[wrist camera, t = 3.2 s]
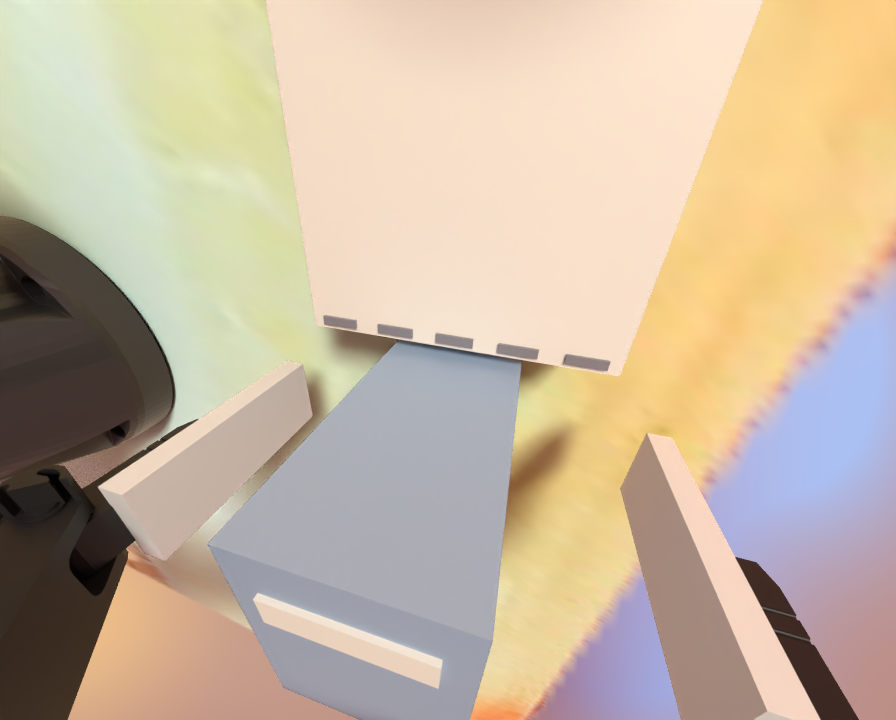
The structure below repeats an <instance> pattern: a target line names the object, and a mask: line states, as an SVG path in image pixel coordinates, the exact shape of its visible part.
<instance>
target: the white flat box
mask: <svg viewBox="0 0 896 720" xmlns="http://www.w3.org/2000/svg"><path fill="white" fill-rule="evenodd" d="M762 2H763V0H266V5H267V12H268V18H269V25H270V31H271V37H272V44H273V50H274V57H275V63H276V70H277V76H278V82H279V89H280V95H281V102H282V108H283V115H284V121H285V127H286V134H287V140H288V147H289V153H290V160H291V166H292V172H293V179H294V185H295V192H296V198H297V205H298V211H299V217H300V224H301V230H302V237H303V243H304V250H305V256H306V262H307V269H308V275H309V282H310V288H311V295H312V301H313V307H314V314H315V320H316V325H318V326H324V327H329V328H335V329H341V330H347V331H353V332H359V333H365V334H371V335H377V336H383V337H389V338H395V339H401V340H407V341H412V342H418V343H424V344H430V345H436V346H442V347H448V348H454V349H460V350H466V351H472V352H478V353H484V354H490V355H496V356H501V357H507V358H513V359H519V360H525V361H531V362H537V363H543V364H549V365H555V366H561V367H567V368H573V369H579V370H585V371H590V372H596V373H602V374H608V375H614V376H620V374H621V372H622V369H623V366H624V364H625V361H626V359H627V356H628V353H629V351H630V348H631V346H632V343H633V340H634V338H635V335H636V332H637V330H638V327H639V325H640V322H641V319H642V317H643V314H644V311H645V309H646V306H647V304H648V301H649V298H650V296H651V293H652V290H653V288H654V285H655V283H656V280H657V277H658V275H659V272H660V270H661V267H662V264H663V262H664V259H665V256H666V254H667V251H668V249H669V246H670V243H671V241H672V238H673V235H674V233H675V230H676V228H677V225H678V222H679V220H680V217H681V214H682V212H683V209H684V207H685V204H686V201H687V199H688V196H689V194H690V191H691V188H692V186H693V183H694V180H695V178H696V175H697V173H698V170H699V167H700V165H701V162H702V159H703V157H704V154H705V152H706V149H707V146H708V144H709V141H710V138H711V136H712V133H713V131H714V128H715V125H716V123H717V120H718V118H719V115H720V112H721V110H722V107H723V104H724V102H725V99H726V97H727V94H728V91H729V89H730V86H731V83H732V81H733V78H734V76H735V73H736V70H737V68H738V65H739V62H740V60H741V57H742V55H743V52H744V49H745V47H746V44H747V42H748V39H749V36H750V34H751V31H752V28H753V26H754V23H755V21H756V18H757V15H758V13H759V10H760V7H761V5H762Z"/></svg>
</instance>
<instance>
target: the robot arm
mask: <svg viewBox="0 0 896 720" xmlns="http://www.w3.org/2000/svg"><path fill="white" fill-rule="evenodd" d="M172 399H173V391H172V383H171V378H170V374H169V371H168V368H167V365H166V362H165V360H164V357H163V355H162V353H161V351H160V349H159V347H158V345H157V343H156V341H155V339H154V338H153V336H152V334H151V332H150V331H149V329H148V328H147V326H146V325H145V323H144V322H143V320H142V319H141V317H140V316H139V314H138V313H137V312H136V310H135V309H134V308H133V306H132V305H131V304H130V303H129V301H128V300H127V299H126V298H125V297H124V295H123V294H122V293H121V292H120V291H119V290H118V289H117V288H116V287H115V285H114V284H113V283H112V282H111V281H110V280H109V279H108V278H107V277H106V276H105V275H104V274H103V273H102V272H101V271H100V270H99V269H97V268H96V267H95V266H94V265H93V264H92V263H91V262H90V261H88V260H87V259H86V258H85V257H84V256H82V255H81V254H80V253H79V252H77V251H76V250H75V249H73V248H72V247H71V246H69V245H68V244H66V243H65V242H63V241H62V240H60V239H59V238H57V237H56V236H54V235H52V234H51V233H49V232H47V231H45V230H43V229H41V228H39V227H37V226H35V225H33V224H30V223H28V222H25V221H22V220H19V219H16V218H12V217H6V216H0V483H1V484H0V720H68V717H69V714H70V712H71V709H72V706H73V704H74V701H75V698H76V696H77V692H78V690H79V687H80V685H81V682H82V679H83V677H84V674H85V671H86V669H87V666H88V663H89V661H90V658H91V655H92V653H93V650H94V647H95V645H96V642H97V639H98V637H99V634H100V631H101V629H102V626H103V623H104V621H105V618H106V615H107V613H108V610H109V607H110V605H111V602H112V599H113V597H114V594H115V591H116V589H117V586H118V583H119V581H120V578H121V575H122V572H123V570H124V567H125V565H126V562H127V559H128V551H127V550H126V548H127V547H128V546H129V545H130V544H132V543H133V542H134V541H136V542H137V544H138V545H139V547H140V548H141V549H142V551H143V552H144V553H145V554H148V555H151V556H153V557H156V558H159V559H161V560H164V561H166V560H167V559H168V558H169V557H170V556H171V555H172V554H173V553H174V552H175V551H176V550H177V549H178V548H179V547H180V546H181V545H182V544H183V543H184V542H185V541H186V540H187V539H188V538H189V537H190V536H192V535H193V534H194V533H195V532H196V531H197V530H198V529H199V528H200V527H201V526H202V525H203V524H204V523H205V522H206V521H207V520H208V519H209V518H210V517H211V516H212V515H213V514H214V513H215V512H216V511H217V510H218V509H219V508H220V507H221V506H222V505H223V504H224V503H225V502H226V501H227V500H228V499H229V498H230V497H231V496H232V495H233V494H234V493H235V492H236V491H237V490H238V489H239V488H240V487H241V486H242V485H243V484H244V483H245V482H246V481H247V480H248V479H249V478H250V477H251V476H252V475H254V474H255V473H256V472H257V471H258V470H259V469H260V468H261V467H262V466H263V465H264V464H265V463H266V462H267V461H268V460H269V459H270V458H271V457H272V456H273V455H274V454H275V453H276V452H277V451H278V450H279V449H280V448H281V447H282V446H283V445H284V444H285V443H286V442H287V441H288V440H289V439H290V438H291V437H292V436H293V435H294V434H295V433H296V432H297V431H298V430H299V429H300V428H301V427H302V426H303V425H304V424H305V423H306V422H307V421H308V420H309V419H310V418H311V417H312V416H313V415H312V409H311V404H310V399H309V393H308V388H307V383H306V377H305V372H304V367H303V364H301V363H296V362H291V361H286V362H284V363H283V364H281V365H280V366H278V367H277V368H275V369H274V370H272V371H271V372H269V373H268V374H266V375H265V376H263V377H262V378H260V379H259V380H257V381H256V382H254V383H253V384H251V385H250V386H248V387H247V388H245V389H244V390H242V391H241V392H239V393H238V394H236V395H235V396H233V397H232V398H230V399H229V400H227V401H226V402H224V403H223V404H221V405H220V406H218V407H217V408H215V409H214V410H212V411H211V412H209V413H208V414H206V415H205V416H203V417H202V418H200V419H196V420H194V421H191V422H189V423H187V424H184V425H182V426H180V427H177V428H176V429H174V430H173V431H171V432H170V433H168V434H167V435H165V436H164V437H162V438H161V440H160V441H158V440H157V441H156V442H154V443H153V444H151V445H150V446H148V447H147V449H146V450H142V451H140V452H139V453H137V454H136V455H134V456H133V457H131V458H130V459H128V460H127V461H125V462H124V463H122V464H120V465H119V466H117V467H116V468H114V469H113V470H111V471H110V472H108V473H107V474H105V475H104V476H102V477H100V478H99V479H97V480H96V481H94V482H93V483H91V484H90V485H88V486H86V487H84V488H83V489H81V488H80V486H79V485H78V484H77V482H76V481H75V480H74V478H73V477H72V476H71V474H70V473H69V471H68V470H67V469H66V468H65V466H60V465H58V464H61V463H64V462H67V461H70V460H74V459H77V458H80V457H83V456H86V455H89V454H92V453H95V452H98V451H101V450H104V449H107V448H110V447H113V446H116V445H119V444H122V443H125V442H127V441H129V440H131V439H133V438H135V437H137V436H138V435H140V434H141V433H143V432H145V431H146V430H148V429H150V428H151V427H153V426H155V425H156V424H158V423H159V422H161V421H162V420H164V419H165V418H166V416H167V415H168V413H169V411H170V409H171V405H172ZM620 490H621V493H622V497H623V501H624V505H625V509H626V512H627V516H628V520H629V524H630V528H631V531H632V535H633V539H634V543H635V547H636V550H637V554H638V558H639V562H640V566H641V569H642V573H643V577H644V581H645V584H646V588H647V592H648V596H649V600H650V603H651V607H652V611H653V615H654V619H655V622H656V626H657V630H658V634H659V638H660V642H661V645H662V649H663V653H664V657H665V661H666V664H667V668H668V672H669V676H670V680H671V683H672V687H673V691H674V694H675V698H676V702H677V706H678V710H679V714H680V718H681V720H859V719H858V717H857V716H856V714H855V712H854V711H853V709H852V707H851V706H850V704H849V703H848V701H847V699H846V697H845V696H844V694H843V693H842V691H841V689H840V687H839V686H838V684H837V682H836V681H835V679H834V677H833V676H832V674H831V672H830V671H829V669H828V667H827V666H826V664H825V662H824V661H823V659H822V657H821V656H820V654H819V652H818V651H817V649H816V647H815V646H814V645H812V644H811V642H810V637H809V636H808V634H807V632H806V631H805V629H804V627H803V626H802V624H801V622H800V621H798V620H797V619H796V614H795V612H794V611H793V609H792V607H791V606H790V604H789V602H788V601H787V599H786V597H785V596H784V594H783V592H782V591H781V589H780V587H779V586H778V585H777V584H776V583H775V582H774V581H773V580H772V579H771V578H770V577H769V576H768V575H767V573H766V572H765V571H764V570H763V569H762V568H761V567H760V566H759V565H758V564H757V563H756V562H753V561H749V560H745V559H741V558H737V557H735V556H734V555H733V553H732V551H731V549H730V547H729V545H728V543H727V541H726V539H725V538H724V536H723V534H722V532H721V530H720V528H719V526H718V524H717V522H716V520H715V518H714V516H713V515H712V513H711V511H710V509H709V507H708V505H707V503H706V501H705V499H704V498H703V496H702V494H701V492H700V490H699V488H698V486H697V484H696V482H695V480H694V479H693V477H692V475H691V473H690V471H689V469H688V467H687V465H686V463H685V461H684V460H683V458H682V456H681V454H680V452H679V450H678V448H677V446H676V444H675V442H674V441H673V439H672V438H670V437H665V436H660V435H655V434H650V433H647V434H646V436H645V438H644V440H643V442H642V444H641V446H640V448H639V450H638V453H637V455H636V457H635V459H634V461H633V463H632V465H631V467H630V469H629V471H628V473H627V476H626V478H625V480H624V482H623V484H622V486H621V488H620Z"/></svg>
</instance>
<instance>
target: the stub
mask: <svg viewBox="0 0 896 720" xmlns="http://www.w3.org/2000/svg"><path fill="white" fill-rule="evenodd" d="M521 364H522V360H519V359H513V358H507V357H501V356H496V355H490V354H484V353H478V352H472V351H466V350H460V349H454V348H448V347H442V346H436V345H430V344H424V343H418V342H412V341H407V340H401V339H399V340H398V341H397V342H396V343H395V344H394V345H393V346H392V348H391V349H390V350H389V351H388V352H387V353H386V354H385V355H384V356H383V357H382V358H381V359H380V360H379V361H378V362H377V364H376V365H375V366H374V367H373V368H372V369H371V370H370V371H369V372H368V373H367V374H366V375H365V376H364V377H363V378H362V380H361V381H360V382H359V383H358V384H357V385H356V386H355V387H354V388H353V389H352V390H351V391H350V392H349V393H348V395H347V396H346V397H345V398H344V399H343V400H342V401H341V402H340V403H339V404H338V405H337V406H336V407H335V408H334V409H333V411H332V412H331V413H330V414H329V415H328V416H327V417H326V418H325V419H324V420H323V421H322V422H321V423H320V424H319V425H318V427H317V428H316V429H315V430H314V431H313V432H312V433H311V434H310V435H309V436H308V437H307V438H306V439H305V440H304V441H303V443H302V444H301V445H300V446H299V447H298V448H297V449H296V450H295V451H294V452H293V453H292V454H291V455H290V456H289V457H288V459H287V460H286V461H285V462H284V463H283V464H282V465H281V466H280V467H279V468H278V469H277V470H276V471H275V472H274V473H273V475H272V476H271V477H270V478H269V479H268V480H267V481H266V482H265V483H264V484H263V485H262V486H261V487H260V488H259V489H258V491H257V492H256V493H255V494H254V495H253V496H252V497H251V498H250V499H249V500H248V501H247V502H246V503H245V504H244V505H243V507H242V508H241V509H240V510H239V511H238V512H237V513H236V514H235V515H234V516H233V517H232V518H231V519H230V520H229V521H228V523H227V524H226V525H225V526H224V527H223V528H222V529H221V530H220V531H219V532H218V533H217V534H216V535H215V536H214V537H213V539H212V540H211V541H210V542H209V543H208V546H209V548H210V550H211V552H212V554H213V556H214V558H215V559H216V561H217V563H218V565H219V567H220V569H221V571H222V573H223V575H224V576H225V578H226V580H227V582H228V584H229V586H230V588H231V590H232V592H233V593H234V595H235V597H236V599H237V601H238V603H239V605H240V607H241V609H242V610H243V612H244V614H245V616H246V618H247V620H248V622H249V624H250V626H251V627H252V629H253V631H254V633H255V635H256V637H257V639H258V641H259V643H260V644H261V646H262V648H263V650H264V652H265V654H266V656H267V658H268V660H269V661H270V663H271V665H272V667H273V669H274V671H275V673H276V674H277V677H278V678H279V680H280V682H281V684H282V686H283V688H285V689H288V690H290V691H293V692H295V693H297V694H299V695H302V696H304V697H307V698H309V699H311V700H314V701H316V702H318V703H321V704H323V705H326V706H328V707H330V708H333V709H335V710H338V711H340V712H342V713H345V714H347V715H349V716H352V717H354V718H356V719H359V720H470V717H471V714H472V710H473V707H474V703H475V700H476V697H477V693H478V690H479V686H480V683H481V679H482V676H483V672H484V669H485V666H486V662H487V659H488V655H489V652H490V648H491V645H492V641H493V632H494V623H495V613H496V604H497V594H498V585H499V575H500V565H501V556H502V546H503V537H504V527H505V517H506V508H507V498H508V489H509V479H510V470H511V460H512V450H513V441H514V431H515V422H516V412H517V402H518V393H519V383H520V374H521Z"/></svg>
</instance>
